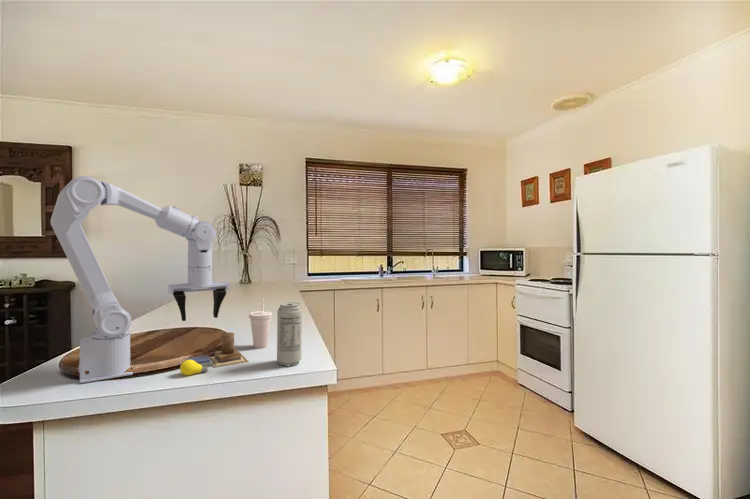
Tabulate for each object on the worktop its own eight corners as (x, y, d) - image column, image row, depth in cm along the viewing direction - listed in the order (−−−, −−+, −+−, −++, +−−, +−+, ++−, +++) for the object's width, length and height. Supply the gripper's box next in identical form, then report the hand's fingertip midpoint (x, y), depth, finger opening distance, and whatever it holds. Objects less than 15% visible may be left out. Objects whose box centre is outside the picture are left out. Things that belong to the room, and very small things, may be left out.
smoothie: (268, 350, 104) (268, 300, 104) (245, 349, 104) (245, 300, 104) (274, 343, 111) (275, 296, 110) (253, 343, 111) (253, 296, 110)
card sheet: (214, 367, 90) (214, 366, 90) (208, 358, 97) (208, 357, 97) (248, 361, 95) (248, 360, 95) (240, 353, 101) (240, 352, 101)
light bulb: (177, 374, 86) (182, 358, 87) (204, 377, 88) (209, 362, 90) (178, 374, 83) (183, 358, 84) (206, 378, 85) (211, 362, 87)
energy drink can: (302, 358, 98) (302, 301, 97) (300, 366, 92) (301, 306, 91) (278, 359, 97) (279, 301, 97) (275, 367, 91) (275, 306, 91)
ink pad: (187, 370, 88) (187, 364, 88) (184, 363, 92) (184, 357, 92) (212, 366, 91) (212, 360, 91) (208, 359, 96) (208, 354, 96)
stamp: (220, 363, 93) (220, 337, 92) (214, 357, 96) (214, 333, 96) (240, 359, 96) (240, 334, 95) (234, 354, 100) (234, 330, 99)
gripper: (225, 264, 105) (225, 312, 105) (166, 266, 97) (166, 318, 97) (231, 267, 99) (231, 317, 100) (169, 269, 91) (169, 324, 91)
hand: (199, 318), depth 98 cm, fingers open, 7 cm apart
